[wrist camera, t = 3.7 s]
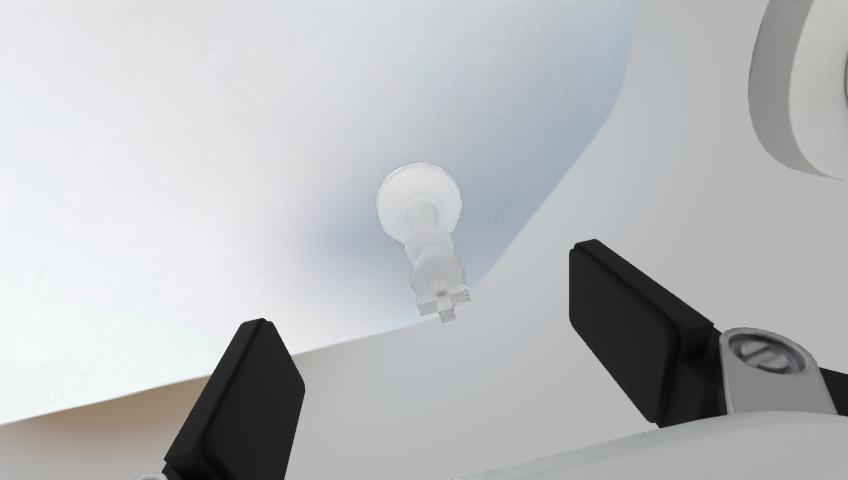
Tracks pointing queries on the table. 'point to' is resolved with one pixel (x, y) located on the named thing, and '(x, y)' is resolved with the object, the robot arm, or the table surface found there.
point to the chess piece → (426, 232)
